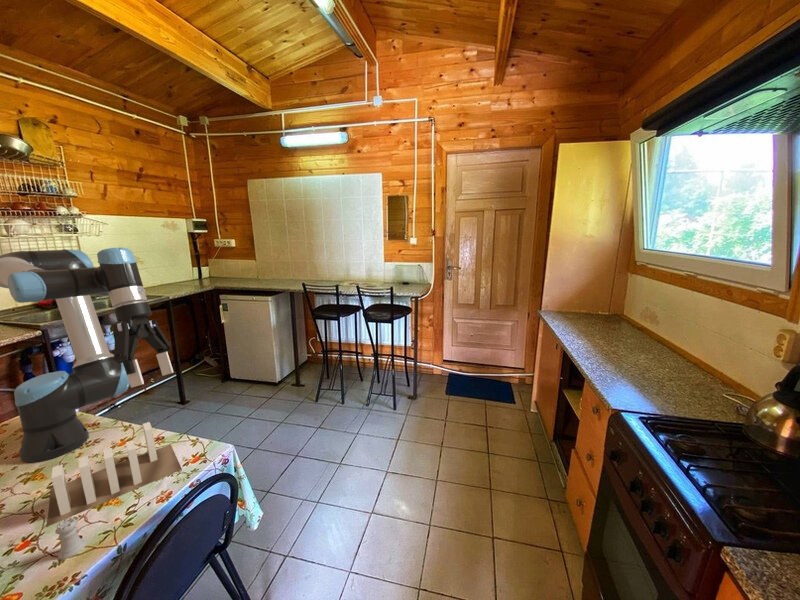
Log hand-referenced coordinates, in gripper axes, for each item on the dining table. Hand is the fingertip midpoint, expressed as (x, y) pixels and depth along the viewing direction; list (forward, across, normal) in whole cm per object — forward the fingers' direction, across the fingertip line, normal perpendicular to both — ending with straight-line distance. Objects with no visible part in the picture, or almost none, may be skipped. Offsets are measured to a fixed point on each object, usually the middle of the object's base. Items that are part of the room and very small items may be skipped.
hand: (154, 379), depth 89 cm
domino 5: (+22, +8, +11) cm, 26 cm away
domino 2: (+24, -6, +18) cm, 30 cm away
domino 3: (+24, -3, +14) cm, 28 cm away
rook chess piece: (+30, -20, +13) cm, 38 cm away
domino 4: (+24, 0, +11) cm, 27 cm away
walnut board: (+24, 0, +16) cm, 29 cm away
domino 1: (+23, -8, +22) cm, 33 cm away
